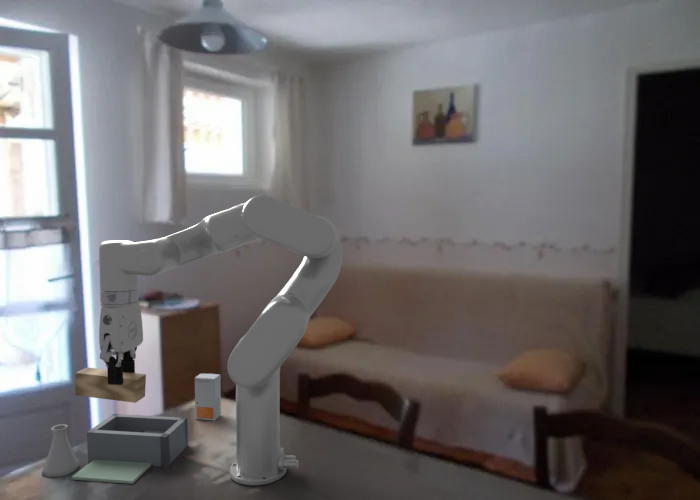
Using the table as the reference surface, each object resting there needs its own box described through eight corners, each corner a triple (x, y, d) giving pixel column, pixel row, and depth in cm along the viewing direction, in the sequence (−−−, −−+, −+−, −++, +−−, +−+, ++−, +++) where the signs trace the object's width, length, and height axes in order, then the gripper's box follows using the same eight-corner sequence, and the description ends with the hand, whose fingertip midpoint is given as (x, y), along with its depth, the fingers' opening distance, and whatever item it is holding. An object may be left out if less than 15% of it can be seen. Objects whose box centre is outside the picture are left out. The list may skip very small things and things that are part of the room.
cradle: (187, 445, 131) (187, 417, 131) (167, 466, 120) (166, 436, 120) (114, 440, 134) (113, 413, 133) (87, 461, 123) (86, 432, 122)
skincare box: (194, 419, 147) (193, 377, 146) (201, 413, 151) (200, 372, 150) (215, 421, 146) (214, 378, 145) (221, 415, 150) (220, 373, 149)
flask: (63, 480, 114) (61, 435, 114) (34, 476, 116) (32, 432, 115) (86, 464, 122) (84, 421, 121) (59, 461, 123) (57, 419, 122)
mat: (151, 465, 121) (151, 463, 121) (132, 483, 113) (132, 481, 113) (94, 461, 123) (93, 459, 123) (71, 479, 115) (71, 476, 115)
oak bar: (145, 396, 118) (145, 374, 117) (135, 402, 114) (136, 380, 113) (86, 389, 119) (86, 367, 119) (74, 395, 115) (75, 372, 115)
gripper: (114, 305, 106) (116, 394, 107) (155, 292, 122) (156, 370, 124) (79, 304, 106) (81, 393, 108) (124, 291, 123) (126, 368, 124)
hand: (121, 379), depth 116 cm, fingers closed on oak bar, 4 cm apart
